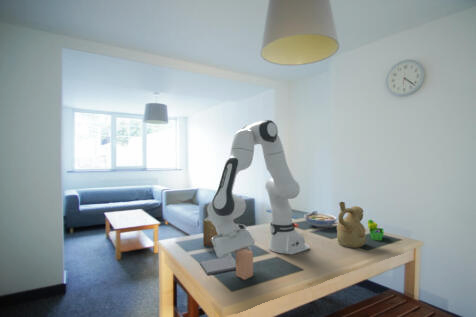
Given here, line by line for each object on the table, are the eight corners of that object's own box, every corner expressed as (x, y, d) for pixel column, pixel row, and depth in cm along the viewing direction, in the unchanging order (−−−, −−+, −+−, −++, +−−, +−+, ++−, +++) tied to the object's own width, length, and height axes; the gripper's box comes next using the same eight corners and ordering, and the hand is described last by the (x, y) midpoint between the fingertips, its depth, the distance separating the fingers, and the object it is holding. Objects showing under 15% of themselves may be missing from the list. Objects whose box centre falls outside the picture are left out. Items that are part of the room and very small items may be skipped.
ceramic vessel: (374, 245, 141) (374, 201, 141) (352, 252, 131) (352, 204, 131) (347, 237, 155) (347, 197, 155) (326, 242, 145) (326, 200, 145)
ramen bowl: (332, 233, 163) (332, 221, 163) (299, 228, 176) (299, 216, 176) (340, 225, 184) (340, 214, 184) (309, 220, 197) (309, 210, 197)
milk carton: (221, 246, 139) (221, 212, 139) (203, 245, 141) (203, 211, 141) (226, 240, 149) (226, 208, 149) (209, 239, 152) (209, 208, 152)
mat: (231, 258, 122) (231, 256, 122) (241, 268, 112) (241, 265, 112) (199, 263, 116) (199, 261, 116) (207, 274, 105) (207, 272, 105)
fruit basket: (384, 241, 147) (384, 222, 147) (367, 239, 152) (367, 221, 152) (383, 236, 157) (383, 218, 157) (367, 234, 162) (367, 217, 162)
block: (244, 271, 108) (244, 248, 108) (252, 275, 104) (252, 251, 104) (236, 275, 104) (236, 251, 104) (244, 279, 101) (244, 255, 101)
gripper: (213, 233, 103) (228, 264, 96) (247, 224, 117) (263, 250, 110) (206, 241, 106) (221, 271, 99) (240, 231, 120) (255, 257, 113)
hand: (243, 260), depth 105 cm, fingers open, 8 cm apart
